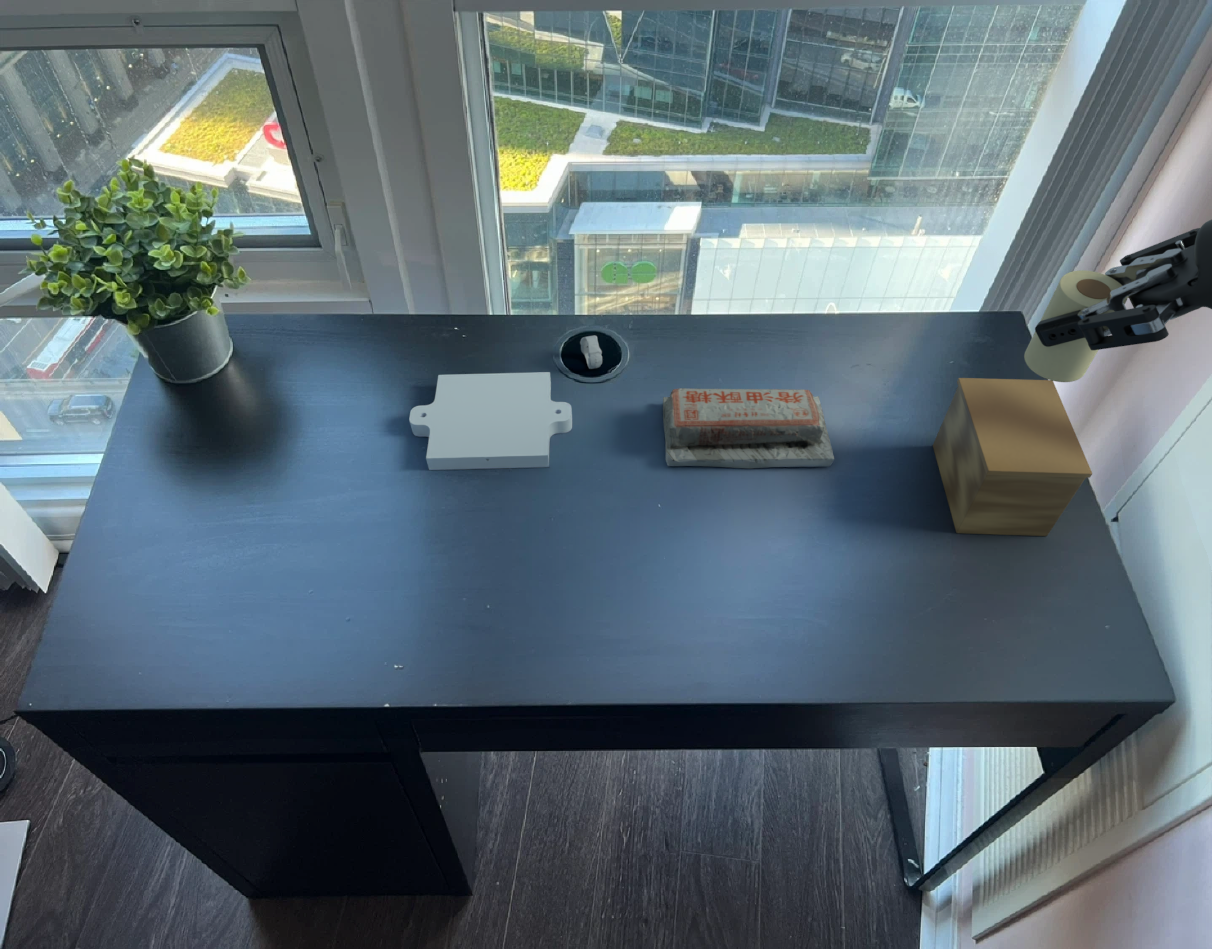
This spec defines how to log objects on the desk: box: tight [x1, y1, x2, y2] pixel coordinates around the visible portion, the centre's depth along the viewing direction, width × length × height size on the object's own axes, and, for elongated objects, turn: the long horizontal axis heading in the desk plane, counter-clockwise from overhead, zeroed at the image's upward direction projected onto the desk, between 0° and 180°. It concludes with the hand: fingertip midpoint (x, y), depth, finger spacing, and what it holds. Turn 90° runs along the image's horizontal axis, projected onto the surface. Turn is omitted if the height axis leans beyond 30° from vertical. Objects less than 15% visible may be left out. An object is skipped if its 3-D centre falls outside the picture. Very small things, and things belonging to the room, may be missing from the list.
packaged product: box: [662, 387, 835, 469], centre depth 92 cm, size 18×5×10 cm
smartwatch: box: [579, 335, 603, 370], centre depth 100 cm, size 4×2×4 cm, turn 14°
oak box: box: [932, 377, 1093, 537], centre depth 85 cm, size 12×9×10 cm
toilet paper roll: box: [1023, 269, 1129, 383], centre depth 72 cm, size 5×5×8 cm
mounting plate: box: [408, 371, 573, 471], centre depth 94 cm, size 18×13×2 cm
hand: (1053, 317), depth 72 cm, fingers closed on toilet paper roll, 5 cm apart
